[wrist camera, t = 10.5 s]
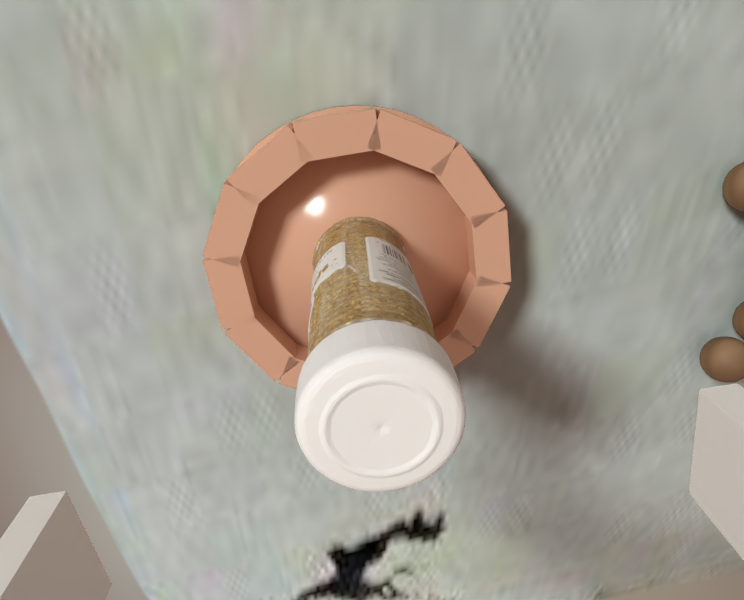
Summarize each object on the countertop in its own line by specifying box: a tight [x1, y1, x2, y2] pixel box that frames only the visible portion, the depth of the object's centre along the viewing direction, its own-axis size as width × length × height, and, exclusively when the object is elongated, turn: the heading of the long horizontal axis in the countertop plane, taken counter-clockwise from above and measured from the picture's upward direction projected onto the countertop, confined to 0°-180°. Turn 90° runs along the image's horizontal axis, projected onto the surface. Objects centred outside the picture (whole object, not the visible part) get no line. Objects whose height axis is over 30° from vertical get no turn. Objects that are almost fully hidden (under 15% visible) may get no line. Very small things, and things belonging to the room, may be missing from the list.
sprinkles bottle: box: [295, 217, 466, 492], centre depth 21 cm, size 5×5×13 cm
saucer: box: [203, 105, 511, 389], centre depth 26 cm, size 14×14×2 cm
